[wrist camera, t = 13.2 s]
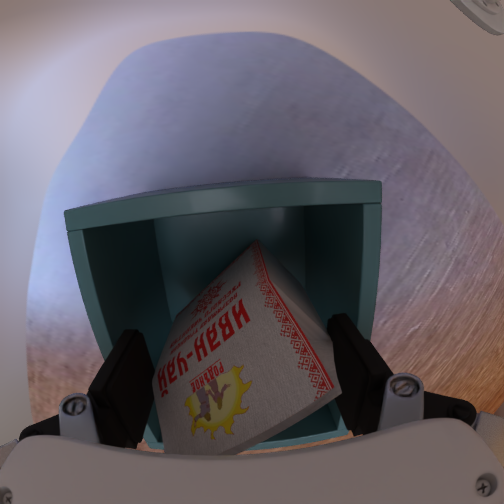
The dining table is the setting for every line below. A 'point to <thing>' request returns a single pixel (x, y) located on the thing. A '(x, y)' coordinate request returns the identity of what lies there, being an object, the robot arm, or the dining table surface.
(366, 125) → the dining table surface
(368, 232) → the waste bin
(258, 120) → the dining table surface
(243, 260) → the tea bag
